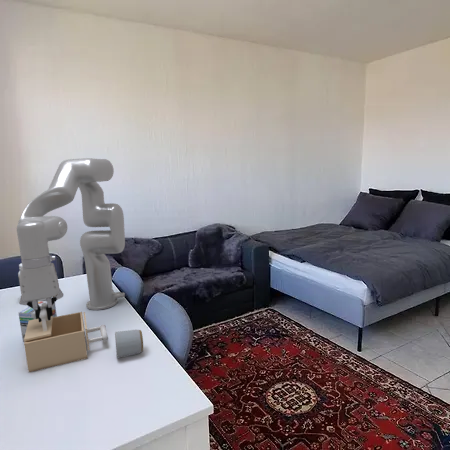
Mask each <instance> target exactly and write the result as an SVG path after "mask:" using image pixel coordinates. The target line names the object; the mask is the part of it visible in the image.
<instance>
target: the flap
mask: <svg viewBox="0 0 450 450" xmlns="http://www.w3.org/2000/svg"><path fill="white" fill-rule="evenodd" d="M46 306H47V303H43V304H42V305H41V310H40V316H39V317H40V318H41V320H42V321H41V322H39V320H38V319H34V320H29V321H28V325H27V329H26V333H25V337H24V341H29V340H33V339H38V338H42V337H47V336H51V332H52V321H53V316H51V320H48V318H47V311H46Z"/></svg>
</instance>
